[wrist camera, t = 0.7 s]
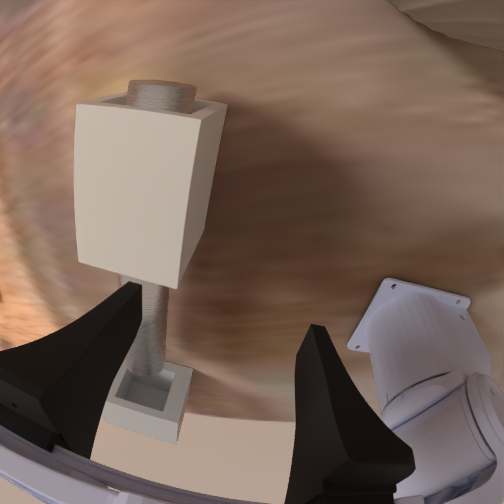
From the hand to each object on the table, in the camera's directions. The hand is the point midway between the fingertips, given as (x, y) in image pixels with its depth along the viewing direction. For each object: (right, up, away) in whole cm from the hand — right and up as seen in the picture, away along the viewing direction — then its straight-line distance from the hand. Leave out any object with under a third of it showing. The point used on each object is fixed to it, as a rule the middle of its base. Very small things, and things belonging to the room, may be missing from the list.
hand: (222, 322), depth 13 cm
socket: (-9, -10, +19) cm, 24 cm away
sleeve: (-4, +9, +7) cm, 12 cm away
